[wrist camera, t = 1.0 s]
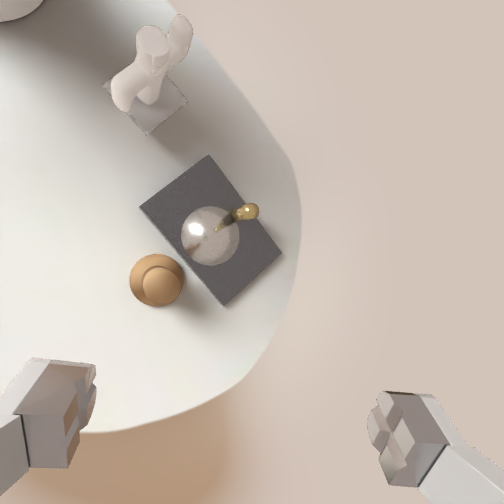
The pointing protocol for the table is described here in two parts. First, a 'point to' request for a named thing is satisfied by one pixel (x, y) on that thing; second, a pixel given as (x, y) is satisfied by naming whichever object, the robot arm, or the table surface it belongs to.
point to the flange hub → (156, 280)
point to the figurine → (152, 75)
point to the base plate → (211, 230)
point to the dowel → (245, 212)
